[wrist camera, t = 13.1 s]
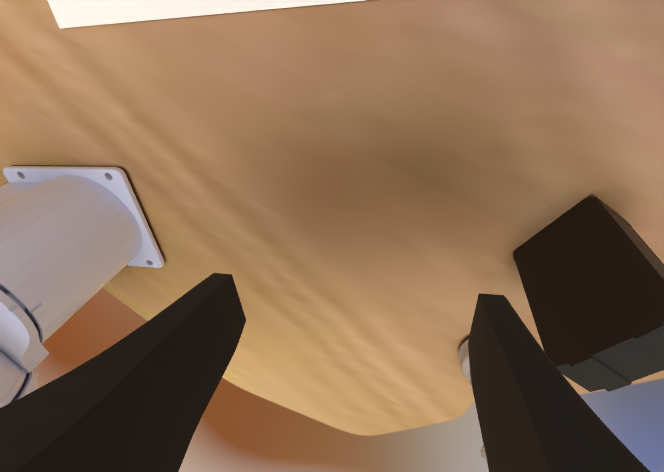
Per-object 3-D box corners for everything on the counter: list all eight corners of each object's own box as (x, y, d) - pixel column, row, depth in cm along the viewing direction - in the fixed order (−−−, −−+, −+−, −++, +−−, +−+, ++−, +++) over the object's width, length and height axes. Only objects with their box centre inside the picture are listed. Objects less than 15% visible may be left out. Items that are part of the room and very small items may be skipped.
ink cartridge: (539, 271, 20) (591, 400, 14) (510, 251, 20) (552, 374, 14) (624, 217, 18) (738, 349, 11) (592, 192, 17) (693, 314, 11)
